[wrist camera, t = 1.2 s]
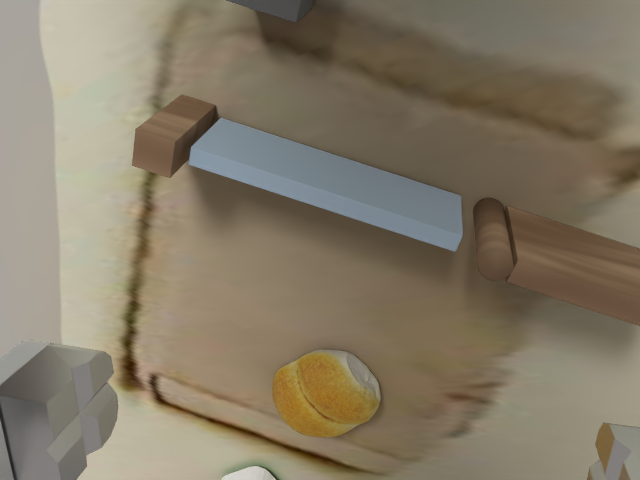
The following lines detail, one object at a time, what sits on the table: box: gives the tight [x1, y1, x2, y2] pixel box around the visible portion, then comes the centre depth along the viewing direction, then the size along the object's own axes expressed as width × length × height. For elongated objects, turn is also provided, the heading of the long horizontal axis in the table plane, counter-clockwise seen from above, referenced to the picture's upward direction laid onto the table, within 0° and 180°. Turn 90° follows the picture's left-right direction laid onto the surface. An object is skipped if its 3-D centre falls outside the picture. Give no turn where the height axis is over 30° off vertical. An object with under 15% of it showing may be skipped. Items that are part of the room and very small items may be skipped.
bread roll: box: [273, 349, 381, 437], centre depth 49 cm, size 8×9×4 cm
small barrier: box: [132, 95, 640, 326], centre depth 37 cm, size 2×33×7 cm, turn 75°
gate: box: [188, 118, 463, 252], centre depth 38 cm, size 1×17×6 cm, turn 75°
